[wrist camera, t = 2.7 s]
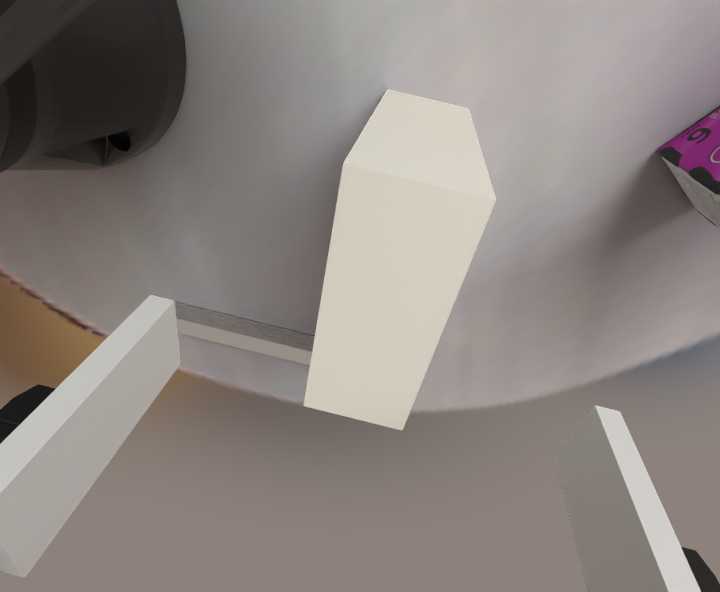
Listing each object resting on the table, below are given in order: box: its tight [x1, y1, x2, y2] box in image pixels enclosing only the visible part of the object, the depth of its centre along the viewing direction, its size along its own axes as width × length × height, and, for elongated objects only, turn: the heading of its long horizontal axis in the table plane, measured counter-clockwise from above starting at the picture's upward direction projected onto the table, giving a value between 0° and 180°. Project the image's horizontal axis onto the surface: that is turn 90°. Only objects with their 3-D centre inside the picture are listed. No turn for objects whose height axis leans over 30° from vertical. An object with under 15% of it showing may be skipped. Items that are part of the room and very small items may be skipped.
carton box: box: [304, 89, 496, 430], centre depth 20 cm, size 5×11×13 cm, turn 169°
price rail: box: [175, 302, 315, 365], centre depth 33 cm, size 20×2×2 cm, turn 79°
